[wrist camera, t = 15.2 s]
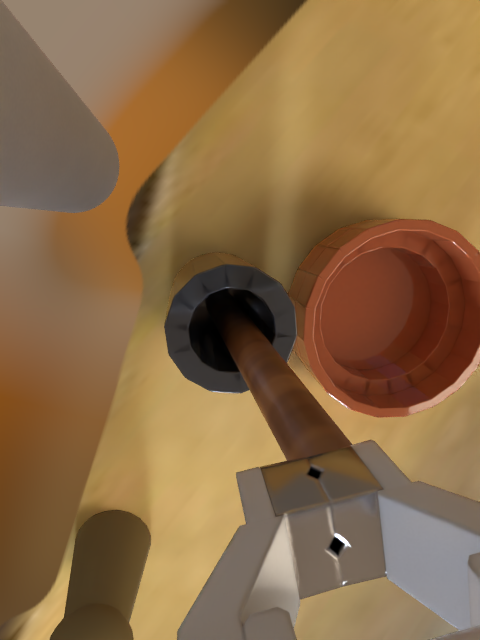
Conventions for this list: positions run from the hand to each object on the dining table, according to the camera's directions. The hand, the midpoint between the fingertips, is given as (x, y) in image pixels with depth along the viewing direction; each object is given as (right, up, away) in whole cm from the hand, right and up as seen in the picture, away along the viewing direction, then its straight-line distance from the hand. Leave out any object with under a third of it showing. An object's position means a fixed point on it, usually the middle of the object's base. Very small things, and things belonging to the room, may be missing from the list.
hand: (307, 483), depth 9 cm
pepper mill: (-12, -15, +26) cm, 32 cm away
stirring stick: (-3, +5, +21) cm, 22 cm away
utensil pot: (-3, +5, +22) cm, 23 cm away
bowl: (+9, +5, +24) cm, 26 cm away
